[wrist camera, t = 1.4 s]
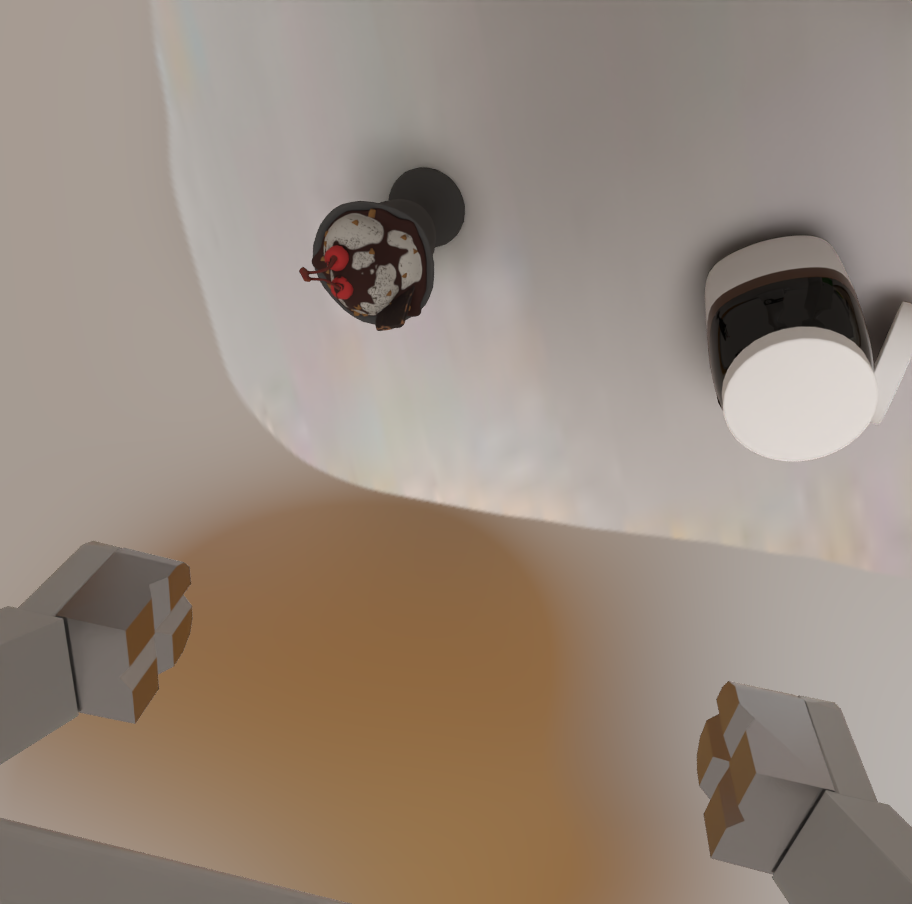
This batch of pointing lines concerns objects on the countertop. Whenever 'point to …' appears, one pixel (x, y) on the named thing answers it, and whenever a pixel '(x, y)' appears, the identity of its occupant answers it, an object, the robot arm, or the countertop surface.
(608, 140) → the countertop surface
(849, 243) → the countertop surface
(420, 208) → the sundae
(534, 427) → the countertop surface
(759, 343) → the spread jar
